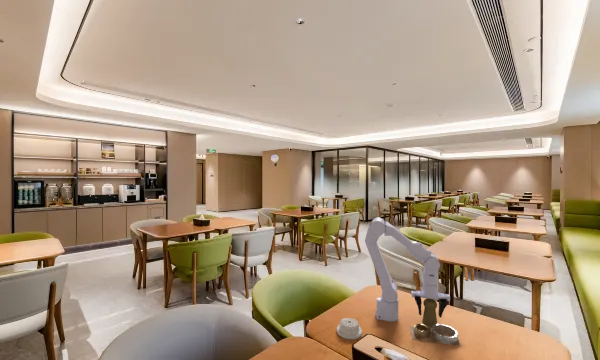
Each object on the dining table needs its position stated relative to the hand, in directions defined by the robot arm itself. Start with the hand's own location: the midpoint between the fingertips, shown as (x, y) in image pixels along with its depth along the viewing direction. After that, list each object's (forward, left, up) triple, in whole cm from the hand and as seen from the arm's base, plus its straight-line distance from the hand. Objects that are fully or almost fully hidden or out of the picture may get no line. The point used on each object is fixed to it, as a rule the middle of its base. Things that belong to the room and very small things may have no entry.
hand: (429, 315), depth 119 cm
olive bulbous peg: (0, 0, -5) cm, 5 cm away
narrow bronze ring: (-4, -9, -3) cm, 11 cm away
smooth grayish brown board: (0, -9, -4) cm, 10 cm away
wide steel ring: (+4, -9, -3) cm, 10 cm away
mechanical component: (-32, -13, -5) cm, 35 cm away
